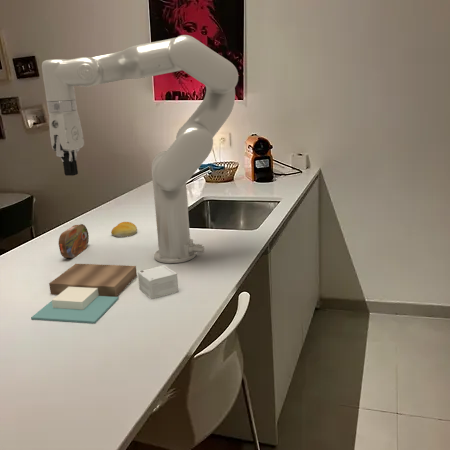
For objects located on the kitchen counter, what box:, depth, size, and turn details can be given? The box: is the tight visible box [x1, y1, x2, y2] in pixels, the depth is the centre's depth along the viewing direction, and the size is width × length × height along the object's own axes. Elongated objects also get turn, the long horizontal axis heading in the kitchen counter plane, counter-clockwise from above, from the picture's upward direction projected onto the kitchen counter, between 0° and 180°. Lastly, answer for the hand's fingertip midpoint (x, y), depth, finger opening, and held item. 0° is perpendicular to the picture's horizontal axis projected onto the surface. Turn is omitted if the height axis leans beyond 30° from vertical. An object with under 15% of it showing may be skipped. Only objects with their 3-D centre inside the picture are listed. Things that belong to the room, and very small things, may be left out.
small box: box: [137, 264, 179, 300], centre depth 131 cm, size 8×8×5 cm
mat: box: [31, 296, 119, 324], centre depth 123 cm, size 16×13×1 cm
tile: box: [51, 287, 99, 310], centre depth 126 cm, size 8×8×2 cm
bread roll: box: [110, 221, 138, 238], centre depth 179 cm, size 8×9×4 cm
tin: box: [58, 223, 90, 259], centre depth 161 cm, size 15×3×8 cm, turn 168°
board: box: [48, 263, 138, 297], centre depth 136 cm, size 18×14×3 cm
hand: (71, 174), depth 143 cm, fingers closed
